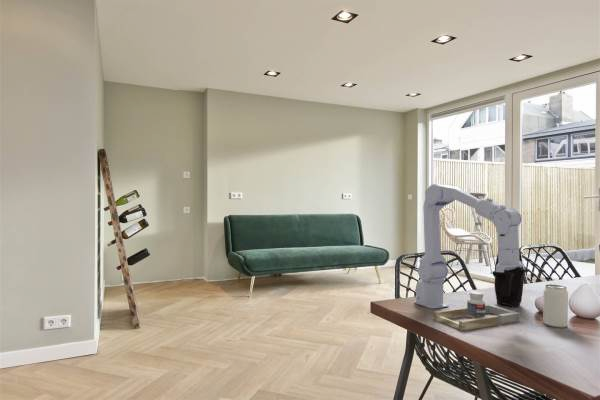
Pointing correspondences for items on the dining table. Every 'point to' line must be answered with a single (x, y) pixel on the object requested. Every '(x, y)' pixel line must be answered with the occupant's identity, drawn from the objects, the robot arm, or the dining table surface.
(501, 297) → the portable speaker
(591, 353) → the dining table surface
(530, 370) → the dining table surface
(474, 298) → the pill bottle
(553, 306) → the can
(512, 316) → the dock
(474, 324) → the beige flat u-shaped piece
